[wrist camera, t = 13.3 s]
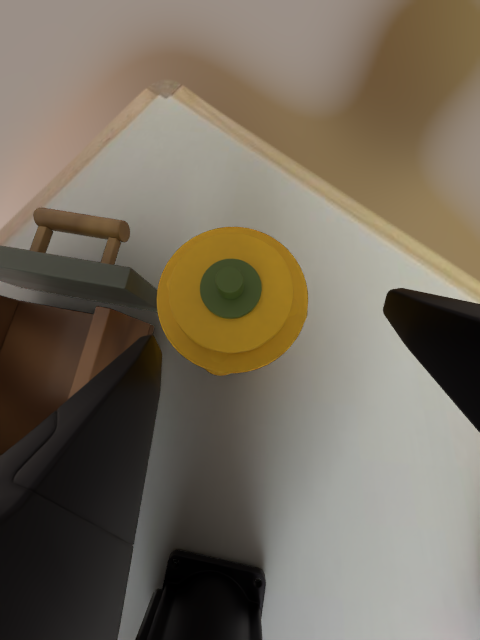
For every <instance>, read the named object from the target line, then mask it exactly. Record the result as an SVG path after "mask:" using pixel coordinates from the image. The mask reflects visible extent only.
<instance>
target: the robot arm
mask: <svg viewBox="0 0 480 640" xmlns="http://www.w3.org/2000/svg"><path fill="white" fill-rule="evenodd" d="M383 312H384V315H385V316H386V318H387V319H388V321H389V322H390V324H391V325H392V327H393V328H394V330H395V331H396V332H397V334H398V335H399V337H400V338H401V340H402V341H403V343H404V344H405V345H406V347H407V348H408V349H409V350H410V351H411V353H412V354H413V355H414V356H415V357H416V358H417V360H418V361H419V362H420V363H421V364H422V366H423V367H424V368H425V369H426V370H427V371H428V373H429V374H430V375H431V376H432V377H433V378H434V380H435V381H436V382H437V383H438V384H439V385H440V387H441V388H442V389H443V390H444V391H445V393H446V394H447V395H448V396H449V397H450V398H451V400H452V401H453V402H454V403H455V404H456V405H457V407H458V408H459V409H460V410H461V411H462V412H463V414H464V415H465V416H466V417H467V418H468V419H469V421H470V422H471V423H472V424H473V425H474V427H475V428H476V429H477V430H478V431H479V432H480V304H477V303H472V302H467V301H462V300H457V299H453V298H448V297H443V296H438V295H433V294H428V293H424V292H419V291H414V290H409V289H404V288H398V289H393V290H390V291H389V292H388V293H387V296H386V300H385V303H384V307H383ZM161 366H162V353H161V350H160V348H159V346H158V343H157V341H156V339H155V337H154V336H153V335H147V336H142V337H140V338H139V339H138V340H137V341H135V342H134V343H133V344H132V345H131V346H130V347H128V348H127V349H126V350H125V351H124V352H123V353H121V354H120V355H119V356H118V357H117V358H116V359H114V360H113V361H112V362H111V363H110V364H109V365H107V366H106V367H105V368H104V369H103V370H102V371H101V372H99V373H98V374H97V375H96V376H95V377H94V378H92V379H91V380H90V381H89V382H88V383H87V384H85V385H84V386H83V387H82V388H81V389H80V390H78V391H77V392H76V393H75V394H74V395H73V396H71V397H70V398H69V399H68V400H67V401H66V402H64V403H63V404H62V405H61V406H60V407H59V408H58V409H57V411H54V412H53V413H52V414H50V415H49V416H48V417H47V418H46V419H45V420H44V421H42V422H41V423H40V424H39V425H38V426H36V427H35V428H34V429H33V430H32V431H30V432H29V433H28V434H27V435H26V436H24V437H23V438H22V439H21V440H20V441H18V442H17V443H16V444H15V445H13V446H12V447H11V448H10V449H8V450H7V451H6V452H4V453H3V454H2V455H1V456H0V640H117V638H118V633H119V627H120V621H121V616H122V610H123V604H124V598H125V593H126V587H127V581H128V575H129V570H130V564H131V558H132V552H133V546H132V545H133V544H134V540H135V534H136V528H137V523H138V517H139V511H140V505H141V500H142V494H143V488H144V482H145V477H146V471H147V465H148V459H149V454H150V448H151V442H152V437H153V431H154V425H155V419H156V414H157V408H158V402H159V396H160V386H161ZM174 559H176V560H178V561H179V563H175V562H174ZM256 578H259V579H261V580H260V581H255V579H256ZM265 586H266V580H265V574H264V572H263V570H262V569H260V568H256V567H252V566H248V565H243V564H239V563H234V562H230V561H225V560H221V559H217V558H212V557H208V556H203V555H199V554H194V553H190V552H186V551H181V550H175V551H173V552H172V553H171V555H170V558H169V560H168V564H167V569H166V574H165V578H164V583H163V588H162V589H157V590H156V591H155V592H154V593H153V595H152V598H151V600H150V603H149V605H148V608H147V611H146V613H145V616H144V618H143V621H142V624H141V626H140V629H139V631H138V634H137V637H136V639H135V640H262V626H261V616H262V608H263V601H264V593H265Z"/></svg>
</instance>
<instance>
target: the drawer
mask: <svg viewBox="0 0 480 640" xmlns="http://www.w3.org/2000/svg"><path fill="white" fill-rule="evenodd" d="M33 216H34V221H35V223H36V224H37V225H38V229H37V232H36V234H35V237H34V240H33V242H32V245H31V247H30V250H24V249H18V248H12V247H6V246H0V281H2V282H5V283H8V284H11V285H14V286H17V287H20V288H25V289H30V290H36V291H41V292H47V293H53V294H58V295H64V296H69V297H75V298H81V299H86V300H92V301H98V302H103V303H109V304H114V305H120V306H126V307H131V308H137V309H143V310H148V311H154V312H158V311H157V289H156V288H155V287H153V286H152V285H151V284H150V283H149V282H147V281H146V280H145V279H144V278H142V277H141V276H140V275H139V274H138V273H136V272H135V271H134V270H133V269H132V268H130V267H124V266H118V265H114V264H115V261H116V258H117V254H118V251H119V248H120V244H121V242H127V241H128V239H129V237H130V228H129V225H128V223H127V222H126V221H123V220H116V219H110V218H104V217H98V216H91V215H85V214H79V213H73V212H66V211H60V210H54V209H48V208H37V209H36V210H35V211H34V214H33ZM52 230H53V231H59V232H65V233H71V234H77V235H83V236H89V237H95V238H102V239H108V241H107V244H106V247H105V250H104V253H103V257H102V260H101V263H100V262H94V261H88V260H82V259H77V258H71V257H65V256H59V255H53V254H47V253H46V250H47V248H48V245H49V242H50V239H51V237H52V234H53V231H52ZM153 330H154V325H151V324H149V323H146V322H143V321H141V320H138V319H136V318H133V317H131V316H128V315H126V314H123V313H121V312H118V311H116V310H113V309H111V308H105V307H100V306H96V309H95V312H94V314H91V313H86V312H80V311H75V310H69V309H63V308H58V307H52V306H47V305H41V304H36V303H30V302H25V301H19V300H16V299H12V298H8V297H4V296H1V295H0V456H1V455H2V454H3V453H4V452H6V451H7V450H8V449H10V448H11V447H12V446H13V445H15V444H16V443H17V442H18V441H20V440H21V439H22V438H23V437H24V436H26V435H27V434H28V433H29V432H30V431H32V430H33V429H34V428H35V427H36V426H38V425H39V424H40V423H41V422H42V421H44V420H45V419H46V418H47V417H48V416H49V415H50V414H52V413H53V412H54V411H57V409H58V408H59V407H60V406H61V405H62V404H63V403H64V402H66V401H67V400H68V399H69V398H70V397H71V396H73V395H74V394H75V393H76V392H77V391H78V390H80V389H81V388H82V387H83V386H84V385H85V384H87V383H88V382H89V381H90V380H91V379H92V378H94V377H95V376H96V375H97V374H98V373H99V372H101V371H102V370H103V369H104V368H105V367H106V366H107V365H109V364H110V363H111V362H112V361H113V360H114V359H116V358H117V357H118V356H119V355H120V354H121V353H123V352H124V351H125V350H126V349H127V348H128V347H130V346H131V345H132V344H133V343H134V342H135V341H137V340H138V339H139V338H140V337H142V336H147V335H152V334H153Z"/></svg>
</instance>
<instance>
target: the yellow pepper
mask: <svg viewBox="0 0 480 640" xmlns="http://www.w3.org/2000/svg"><path fill="white" fill-rule="evenodd" d="M307 307H308V291H307V285H306V281H305V278H304V275H303V272H302V270H301V268H300V266H299V264H298V262H297V261H296V259H295V258H294V256H293V255H292V254H291V253H290V252H289V251H288V249H286V248H285V247H284V246H283V245H282V244H281V243H280V242H278V241H277V240H275V239H274V238H272V237H270V236H268V235H267V234H265V233H262V232H259V231H257V230H253V229H249V228H243V227H223V228H217V229H213V230H209V231H207V232H204V233H201V234H199V235H197V236H195V237H193V238H192V239H190V240H189V241H188V242H186V243H185V244H184V245H182V246H181V247H180V248H179V249H178V250H177V251H176V252H175V253H174V255H173V256H172V257H171V258H170V260H169V261H168V263H167V265H166V266H165V268H164V270H163V272H162V275H161V278H160V281H159V285H158V290H157V311H158V317H159V321H160V324H161V327H162V329H163V331H164V333H165V335H166V337H167V338H168V340H169V341H170V343H171V344H172V346H173V347H174V348H175V349H176V350H177V351H178V352H179V353H180V354H181V355H182V356H184V357H185V358H186V359H187V360H189V361H191V362H192V363H194V364H196V365H198V366H200V367H202V368H204V369H206V370H207V371H208V372H210V373H211V374H214V375H218V376H223V375H228V374H230V373H242V372H248V371H252V370H256V369H258V368H261V367H263V366H266V365H268V364H269V363H271V362H273V361H275V360H276V359H277V358H279V357H280V356H281V355H282V354H284V353H285V352H286V351H287V350H288V349H289V348H290V346H291V345H292V344H293V342H294V341H295V340H296V338H297V337H298V335H299V333H300V331H301V329H302V327H303V324H304V322H305V320H306V317H307Z"/></svg>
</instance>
